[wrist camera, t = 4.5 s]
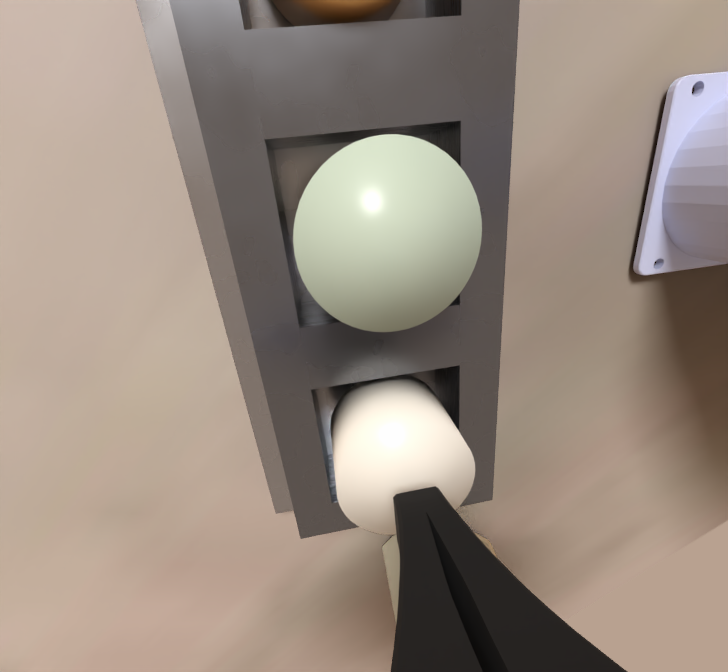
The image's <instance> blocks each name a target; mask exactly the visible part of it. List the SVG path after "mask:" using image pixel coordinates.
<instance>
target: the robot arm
mask: <svg viewBox="0 0 728 672" xmlns="http://www.w3.org/2000/svg"><path fill="white" fill-rule="evenodd" d="M693 86H694V92H693V94H692V88H693ZM655 261H656V264H655V265H654V263H655ZM721 264H728V72H718V73H707V74H696V75H687V76H684V77H681V78H678V79H676V80H675V81H674V82H672V84H671V85H670V87H669V89H668V92H667V97H666V102H665V107H664V112H663V117H662V122H661V127H660V132H659V137H658V142H657V147H656V153H655V158H654V163H653V168H652V173H651V178H650V183H649V188H648V193H647V198H646V204H645V209H644V214H643V219H642V224H641V229H640V234H639V239H638V244H637V249H636V255H635V260H634V265H633V269H634V272H635V273H637V274H640V275H653V274H660V273H667V272H674V271H680V270H687V269H694V268H701V267H708V266H715V265H721ZM393 502H394V513H395V524H396V534H397V542H398V547H399V552H400V575H399V597H398V611H397V623H396V633H395V642H394V651H393V659H392V666H391V672H627V671H626V670H624V669H623V668H622V667H620V666H619V665H618V664H617V663H615V662H614V661H613V660H611V659H610V658H609V657H607V656H606V655H605V654H604V653H603V652H601V651H600V650H599V649H598V648H596V647H595V646H594V645H592V644H591V643H590V642H589V641H587V640H586V639H585V638H584V637H582V636H581V635H580V634H579V633H577V632H576V631H575V630H574V629H572V628H571V627H570V626H569V625H568V624H567V623H565V622H564V621H563V620H562V619H561V618H560V617H558V616H557V615H556V614H555V613H554V612H553V611H552V610H550V609H549V608H548V607H547V606H546V605H545V604H544V603H543V602H542V601H540V600H539V599H538V598H537V597H536V596H535V595H534V594H533V593H532V592H531V591H530V590H528V589H527V588H526V587H525V586H524V585H523V584H522V583H521V582H520V581H519V580H518V579H517V578H516V577H515V576H514V575H513V574H512V573H511V572H510V571H509V570H508V569H507V568H506V567H505V566H504V565H503V564H502V563H501V562H500V561H499V560H498V559H497V558H496V557H495V555H494V554H493V553H492V552H491V551H490V550H489V549H488V548H487V547H486V546H485V545H484V543H483V542H482V541H481V540H480V539H479V538H478V537H477V536H476V535H475V533H474V532H473V531H472V530H471V529H470V528H469V527H468V525H467V524H466V523H465V522H464V521H463V519H462V518H461V517H460V516H459V514H458V513H457V512H456V511H455V510H454V508H453V507H452V506H451V504H450V503H449V502H448V500H447V499H446V498H445V496H444V495H443V494H442V492H441V491H440V489H439V488H437V487H436V486H434V487H429V488H424V489H419V490H414V491H408V492H403V493H398V494H396V495H395V496H394V497H393Z"/></svg>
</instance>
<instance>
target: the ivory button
mask: <svg viewBox="0 0 728 672" xmlns="http://www.w3.org/2000/svg"><path fill="white" fill-rule="evenodd" d="M330 430H331V441H332V451H333V461H334V471H335V481H336V491H337V499H338V502H339V505H340V507H341V509H342V511H343V513H344V514H345V515H346V517H347V518H348V519H349V520H350V521H352V522H353V523H354V524H356V525H357V526H359V527H361V528H363V529H365V530H367V531H370V532H374V533H378V534H385V535H397V534H396V524H395V513H394V502H393V497H394V496H395V495H396V494H398V493H403V492H408V491H414V490H419V489H424V488H429V487H434V486H436V487H437V488H439V489H440V491H441V492H442V494H443V495H444V496H445V498H446V499H447V500H448V502H449V503H450V504H451V506H452V507H453V508H454V510H456V509H457V508H458V507H459V506H460V505H461V504H462V502H463V501H464V500H465V498H466V497H467V495H468V493H469V492H470V490H471V487H472V485H473V481H474V477H475V462H474V457H473V455H472V452H471V450H470V448H469V447H468V445H467V444H466V442H465V440H464V439H463V437H462V436H461V434H460V432H459V431H458V429H457V428H456V426H455V424H454V423H453V421H452V420H451V418H450V416H449V415H448V413H447V412H446V410H445V408H444V407H443V405H442V404H441V402H440V400H439V399H438V397H437V396H436V394H435V392H434V391H433V390H432V389H431V388H430V387H429V386H428V385H427V384H426V383H425V382H423V381H421V380H420V379H418V378H415V377H413V376H410V375H406V374H404V375H397V376H391V377H385V378H379V379H373V380H367V381H361V382H359V383H357V384H355V385H354V386H353V387H351V388H350V389H349V390H348V391H347V392H346V393H345V394H344V395H343V396H342V397H341V398H340V400H339V401H338V403H337V404H336V406H335V408H334V411H333V413H332V417H331V423H330Z"/></svg>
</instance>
